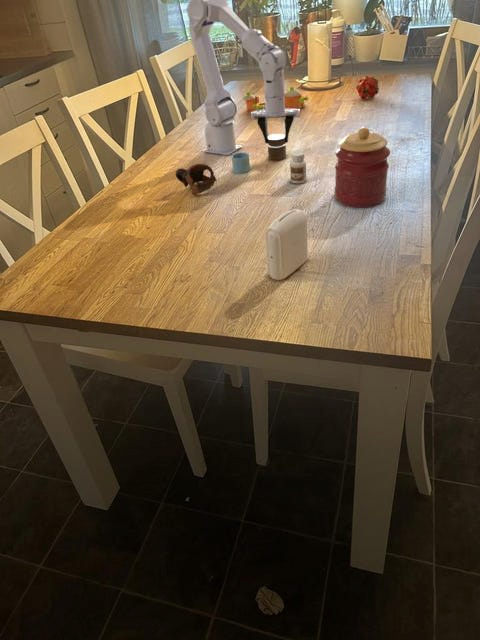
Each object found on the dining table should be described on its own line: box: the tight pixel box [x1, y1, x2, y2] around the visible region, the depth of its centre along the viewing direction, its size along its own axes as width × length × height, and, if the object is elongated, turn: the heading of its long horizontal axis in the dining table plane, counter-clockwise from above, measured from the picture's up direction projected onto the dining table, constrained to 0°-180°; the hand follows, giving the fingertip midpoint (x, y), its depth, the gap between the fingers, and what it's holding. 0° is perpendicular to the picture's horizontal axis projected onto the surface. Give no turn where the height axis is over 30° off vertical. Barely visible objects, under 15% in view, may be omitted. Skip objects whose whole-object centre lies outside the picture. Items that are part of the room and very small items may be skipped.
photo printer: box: [265, 208, 309, 281], centre depth 100 cm, size 10×4×12 cm, turn 140°
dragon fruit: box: [355, 75, 380, 100], centre depth 199 cm, size 8×8×12 cm
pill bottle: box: [289, 151, 307, 184], centre depth 138 cm, size 4×4×8 cm
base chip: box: [267, 151, 287, 162], centre depth 156 cm, size 6×6×2 cm
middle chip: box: [267, 143, 287, 154], centre depth 154 cm, size 6×6×2 cm
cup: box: [231, 152, 251, 174], centre depth 149 cm, size 5×5×4 cm
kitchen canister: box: [334, 126, 391, 208], centre depth 123 cm, size 13×13×18 cm
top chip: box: [267, 133, 287, 146], centre depth 153 cm, size 6×6×2 cm
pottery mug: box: [175, 163, 217, 197], centre depth 140 cm, size 12×10×8 cm
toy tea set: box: [242, 85, 309, 112], centre depth 195 cm, size 26×16×10 cm, turn 81°
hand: (276, 142), depth 153 cm, fingers closed on top chip, 5 cm apart
